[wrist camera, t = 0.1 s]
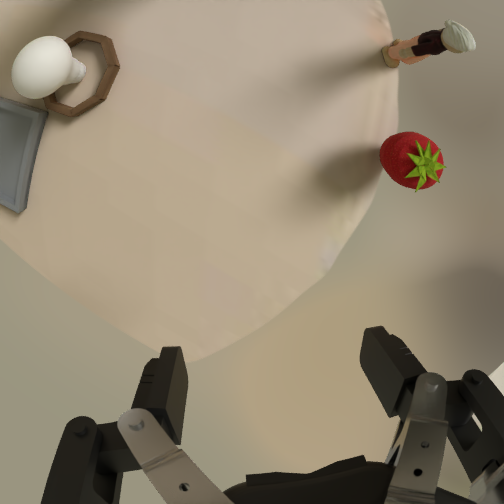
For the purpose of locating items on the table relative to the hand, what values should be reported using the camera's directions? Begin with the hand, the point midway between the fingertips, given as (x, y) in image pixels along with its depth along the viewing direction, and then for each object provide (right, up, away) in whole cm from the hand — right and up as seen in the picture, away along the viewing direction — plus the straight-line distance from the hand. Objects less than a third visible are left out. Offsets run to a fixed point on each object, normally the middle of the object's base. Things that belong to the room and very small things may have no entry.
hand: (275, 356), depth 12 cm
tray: (-33, +18, +14) cm, 40 cm away
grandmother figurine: (+16, +28, +13) cm, 35 cm away
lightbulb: (-20, +24, +12) cm, 34 cm away
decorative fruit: (+15, +16, +18) cm, 29 cm away
